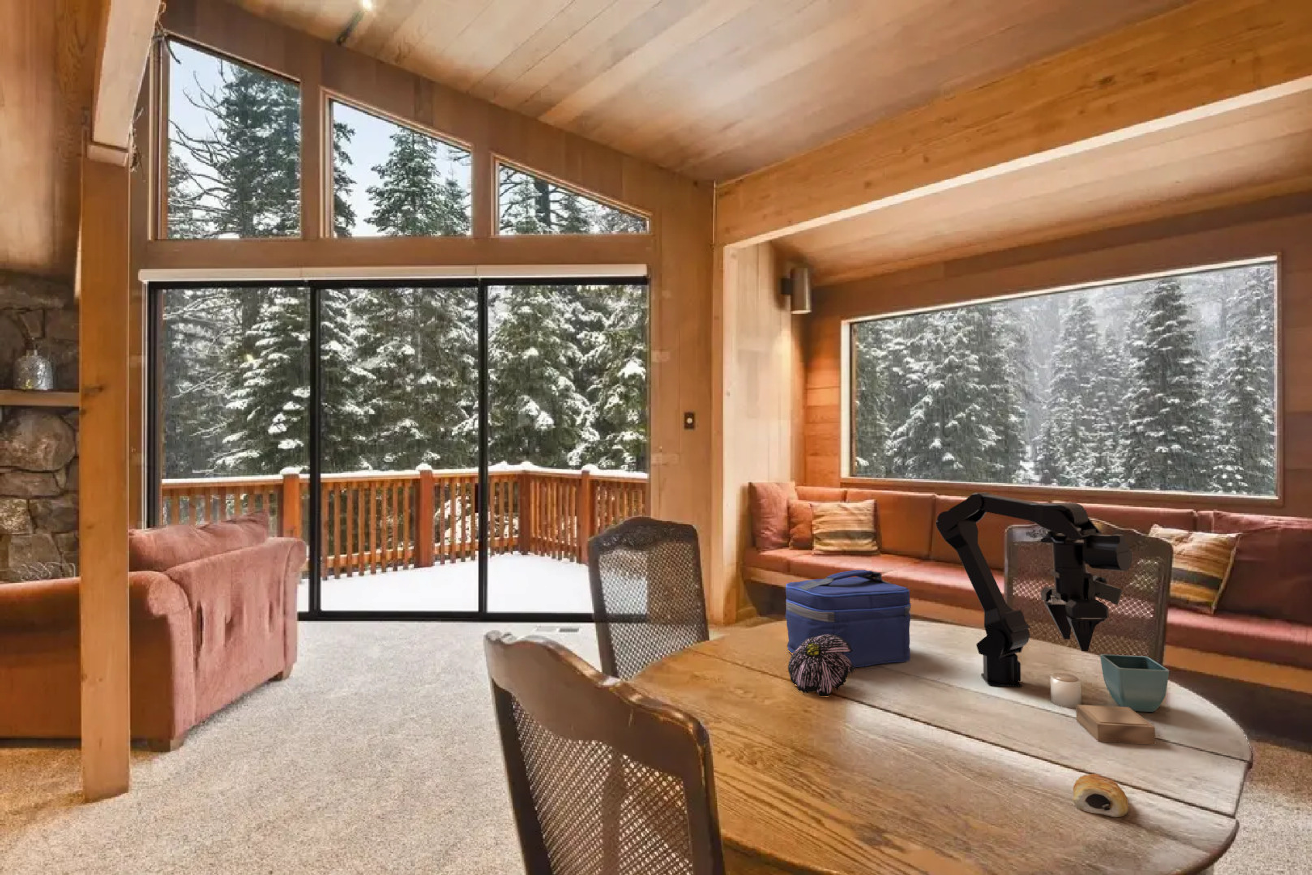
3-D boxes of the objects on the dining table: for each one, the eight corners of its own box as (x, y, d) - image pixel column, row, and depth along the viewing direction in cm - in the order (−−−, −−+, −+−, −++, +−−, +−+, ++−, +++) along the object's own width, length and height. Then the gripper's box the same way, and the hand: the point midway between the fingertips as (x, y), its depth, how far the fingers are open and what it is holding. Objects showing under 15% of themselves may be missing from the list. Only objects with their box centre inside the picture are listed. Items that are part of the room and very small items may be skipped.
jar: (1056, 707, 135) (1056, 680, 135) (1046, 697, 140) (1046, 671, 140) (1085, 708, 134) (1085, 681, 134) (1074, 699, 139) (1074, 672, 139)
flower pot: (1171, 717, 129) (1170, 670, 129) (1119, 714, 131) (1118, 667, 131) (1148, 700, 138) (1147, 655, 138) (1099, 697, 140) (1098, 653, 140)
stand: (1097, 741, 120) (1097, 723, 120) (1076, 720, 129) (1076, 703, 129) (1155, 744, 118) (1154, 726, 118) (1129, 723, 127) (1129, 706, 127)
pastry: (1075, 782, 106) (1075, 758, 106) (1128, 795, 102) (1127, 769, 102) (1072, 810, 98) (1071, 783, 98) (1129, 824, 95) (1128, 797, 95)
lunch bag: (877, 636, 186) (875, 561, 186) (932, 659, 166) (930, 575, 166) (776, 650, 175) (774, 570, 176) (822, 676, 156) (820, 586, 156)
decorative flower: (768, 639, 151) (822, 613, 156) (773, 681, 155) (826, 653, 161) (810, 676, 138) (867, 646, 144) (814, 721, 143) (870, 689, 148)
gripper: (1137, 573, 126) (1143, 658, 126) (1095, 559, 145) (1100, 634, 144) (1070, 573, 129) (1076, 657, 128) (1037, 560, 147) (1042, 633, 146)
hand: (1075, 645), depth 136 cm, fingers open, 9 cm apart
